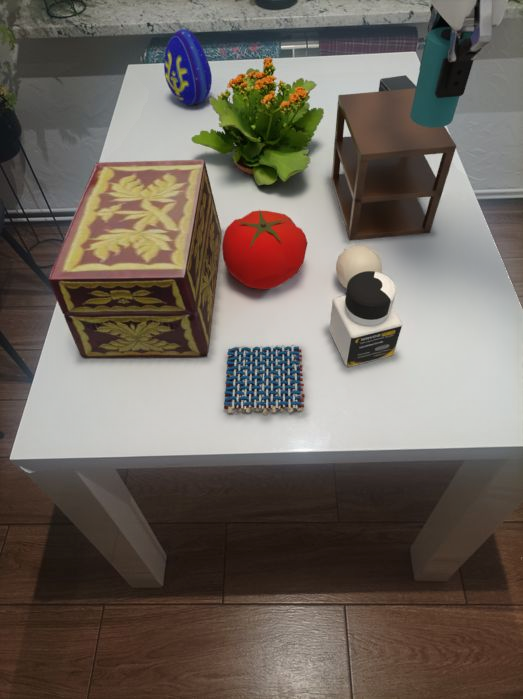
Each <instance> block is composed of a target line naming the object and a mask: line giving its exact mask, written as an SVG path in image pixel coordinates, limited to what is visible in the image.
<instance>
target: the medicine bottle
mask: <svg viewBox="0 0 523 699" xmlns="http://www.w3.org/2000/svg"><path fill="white" fill-rule="evenodd" d="M396 294H397V287H396V284H395V283H394V282H393V280H392V279H391V278H390V277H389V276H387V275H386V274H384V273H379V272H374V271H365V272H361V273H358V274H356V275H355V276H353V277H352V278H351V279H350V280H349V282H348V284H347V288H346V291H345V295H341V296H336V297H334V298H333V299H332V302H331V311H330V320H329V321H330V322H329V333H330V335H331V337H332V339H333V341H334V344H335V346H336V348H337V350H338V352H339V355H340V356H341V359H342V360H343V363H344V366H345V367H347V368H348V367H349V368H351V367H354V366H357V365H361V364H365V363H368V362H372V361H377V360H381V359H385V358H388V357H392V356H393V355H394V353H395V350H396V347H397V344H398V341H399V337H400V334H401V330H402V327H403V321H402V320H401V318H400V316H399V315H398V313H397V312H396V310H395V309H394V307H393V305H394V301H395V298H396Z"/></svg>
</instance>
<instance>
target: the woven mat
mask: <svg viewBox="0 0 523 699" xmlns="http://www.w3.org/2000/svg"><path fill="white" fill-rule="evenodd" d="M300 353H302V349H301V348H300V347H299V345H298V346H295V345H293V344H291V346H289V345H286V346H285V345H281V346H280V345H278V344H275V347H274V346H273V345H270V346H269V345H267V346H262V345H260V346H258V345H257V346H254V347H253V346H250V347H248V346H243V347H242V346H235V347H232V348H228V349H227V353H226V355H227V361H226V365H227V366H226V371H225V374H226V376H225V391H224V402H223V405H224V406H223V409H225V410H227V413H230V414H231V413H234V410H236V409H237V413H239V414H241V413H243V410H245V412H246V413H250V412H251V410H252V409H253V412H256V413H258V412H260V409H262V414H263V415H265V416H267V415H268V414H269V410H270V412H271V413H277V410H279V412H280V413H285V409H286V408H287V409H288V412H289V413H292V412H293V411H294V409H296V413H302V412H303V411H302V410H303V409H302V408H304V407H305V403H304V401H305V399H304V398H306V395H305V393H302V392H304V388H303V387H304V386H305V384H304V383H302V382H303V381H304V380H303V367H304V366H303V364H301V363H302V362H303V354H300Z"/></svg>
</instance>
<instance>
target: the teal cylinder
mask: <svg viewBox="0 0 523 699" xmlns="http://www.w3.org/2000/svg"><path fill="white" fill-rule="evenodd" d="M451 30H452V27H440V28H436V29H433V30H431V31H430V32H429V33H428V34H426V36H427V39H426V38H425V41H426V44H425V43H424V46H425V48H424V47H423V50H424V53H423V52H422V55H423V57H422V56H421V60H422V62H421V61H420V64H421V67H420V66H419V69H420V70H419V72H418V76H417V80H416V84H415V85H416V90H415V94H414V99H413V104H412V108H411V113H410V117H411V119H412V120H413V121H414V122H415V123H416V124H418V125H421V126H424V127H431V128H438V127H444V126H445V127H446V126H449V125H450V124H451V123H452V122H453V120H454V117H455V113H456V110H457V107H458V103H459V100H460V96H457V97H446V98H437V97H436V95H435V91H436V87H437V83H438V79H439V75H440V71H441V67H442V63H443V59H444V58H448V51H449V44H450V37H451ZM471 33H472V32H467V33H461V34H460V41H459V45H460V44H461V42H462V41H463V40H464V39H468V38H470V36H471Z"/></svg>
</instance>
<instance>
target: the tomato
mask: <svg viewBox="0 0 523 699" xmlns="http://www.w3.org/2000/svg"><path fill="white" fill-rule="evenodd" d="M221 246H222V248H221V250H222V259H223V261H224V264H225V267H226V268H227V270H228V272H229V273H230V274H231V276H232V277H233V278H235V279H236V280H237V281H238V282H240V283H241V284H243V285H245V286H246V287H247V288H250V289H258V290H269V289H274V288H276V287H278V286H280V285H283V284H284V283H286V282H287V281H289V280H290V279H292V278H293V277H294V276H296V275H297V274H298V273H299V271H300V269H301V268H302V266H303V265H304V262H305V258H306V252H307V248H308V240H307V237H306V234H305V232H304V231H303V229H302V228H300V227H299V226H298V225H296V223H295V222H294V220H292V218H291V217H289V216H288V215H287V214H285V213H281V212H276V211H271V210H261V209H258V210H252V211H251V212H249V213H247V214H246V215H244V216H243V217H240V218H235V219H234V220H233V221H232V222H231V223H230V224H229V225H228V226H227V227H226V229H225V231H224V234H223V238H222V245H221Z"/></svg>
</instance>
